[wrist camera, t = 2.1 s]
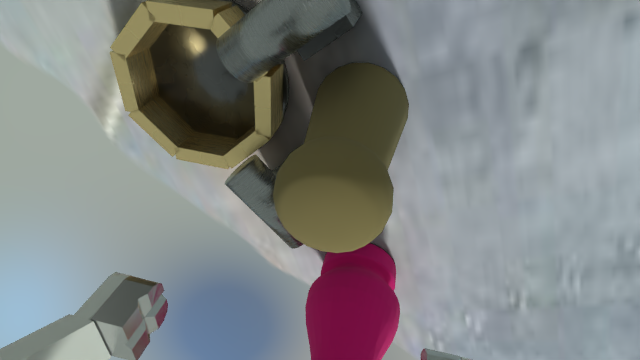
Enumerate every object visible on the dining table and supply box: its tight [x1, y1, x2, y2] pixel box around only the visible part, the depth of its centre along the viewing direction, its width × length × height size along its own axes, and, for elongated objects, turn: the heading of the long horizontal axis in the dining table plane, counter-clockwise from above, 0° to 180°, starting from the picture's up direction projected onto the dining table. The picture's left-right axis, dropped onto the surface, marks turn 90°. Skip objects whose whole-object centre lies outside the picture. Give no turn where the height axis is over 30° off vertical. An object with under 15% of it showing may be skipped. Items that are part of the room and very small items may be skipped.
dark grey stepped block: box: [216, 0, 362, 83], centre depth 18 cm, size 6×4×6 cm, turn 125°
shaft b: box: [225, 155, 303, 248], centre depth 24 cm, size 6×4×6 cm, turn 40°
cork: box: [273, 63, 409, 253], centre depth 19 cm, size 6×6×11 cm
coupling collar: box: [110, 0, 289, 169], centre depth 23 cm, size 10×10×3 cm
